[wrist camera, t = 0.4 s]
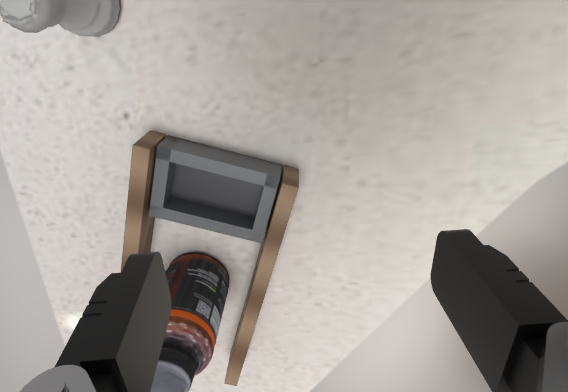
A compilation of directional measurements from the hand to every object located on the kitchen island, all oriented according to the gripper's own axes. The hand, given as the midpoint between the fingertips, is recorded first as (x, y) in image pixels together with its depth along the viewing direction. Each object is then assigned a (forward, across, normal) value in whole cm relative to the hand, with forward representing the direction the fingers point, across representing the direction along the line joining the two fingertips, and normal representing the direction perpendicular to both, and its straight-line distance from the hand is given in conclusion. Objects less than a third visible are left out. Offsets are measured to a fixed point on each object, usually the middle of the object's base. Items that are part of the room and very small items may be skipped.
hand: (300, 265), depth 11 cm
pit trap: (+20, +5, +7) cm, 22 cm away
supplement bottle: (+20, +8, +16) cm, 27 cm away
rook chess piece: (+21, +12, -7) cm, 25 cm away
